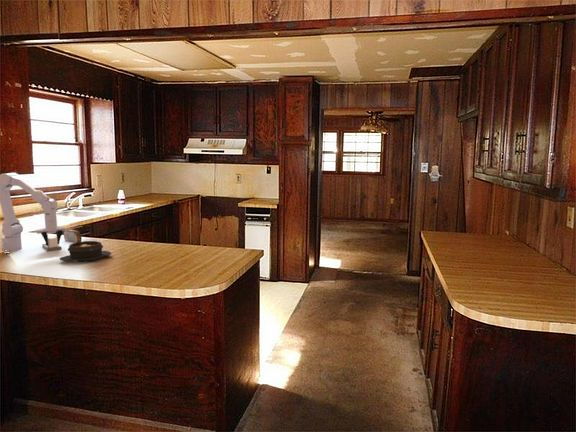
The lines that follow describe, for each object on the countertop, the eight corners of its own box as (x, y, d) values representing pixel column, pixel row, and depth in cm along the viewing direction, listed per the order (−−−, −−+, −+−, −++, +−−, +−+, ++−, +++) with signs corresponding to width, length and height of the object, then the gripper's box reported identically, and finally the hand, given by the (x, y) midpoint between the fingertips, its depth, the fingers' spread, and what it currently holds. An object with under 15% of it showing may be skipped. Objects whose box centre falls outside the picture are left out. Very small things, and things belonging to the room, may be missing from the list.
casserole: (66, 267, 212) (65, 250, 211) (55, 260, 225) (53, 244, 224) (117, 258, 229) (116, 243, 228) (103, 252, 243) (102, 237, 241)
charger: (50, 250, 240) (49, 238, 239) (48, 248, 244) (47, 237, 243) (58, 249, 243) (57, 237, 242) (56, 247, 247) (55, 236, 246)
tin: (82, 244, 263) (81, 230, 262) (77, 245, 261) (76, 231, 260) (68, 241, 271) (67, 228, 270) (63, 242, 269) (62, 229, 267)
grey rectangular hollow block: (47, 253, 239) (47, 247, 238) (42, 249, 250) (42, 242, 250) (61, 252, 243) (61, 245, 242) (56, 247, 255) (55, 241, 254)
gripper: (37, 223, 234) (39, 247, 236) (66, 220, 243) (68, 244, 245) (35, 221, 239) (37, 245, 241) (63, 218, 248) (65, 242, 250)
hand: (52, 244), depth 243 cm, fingers open, 5 cm apart
